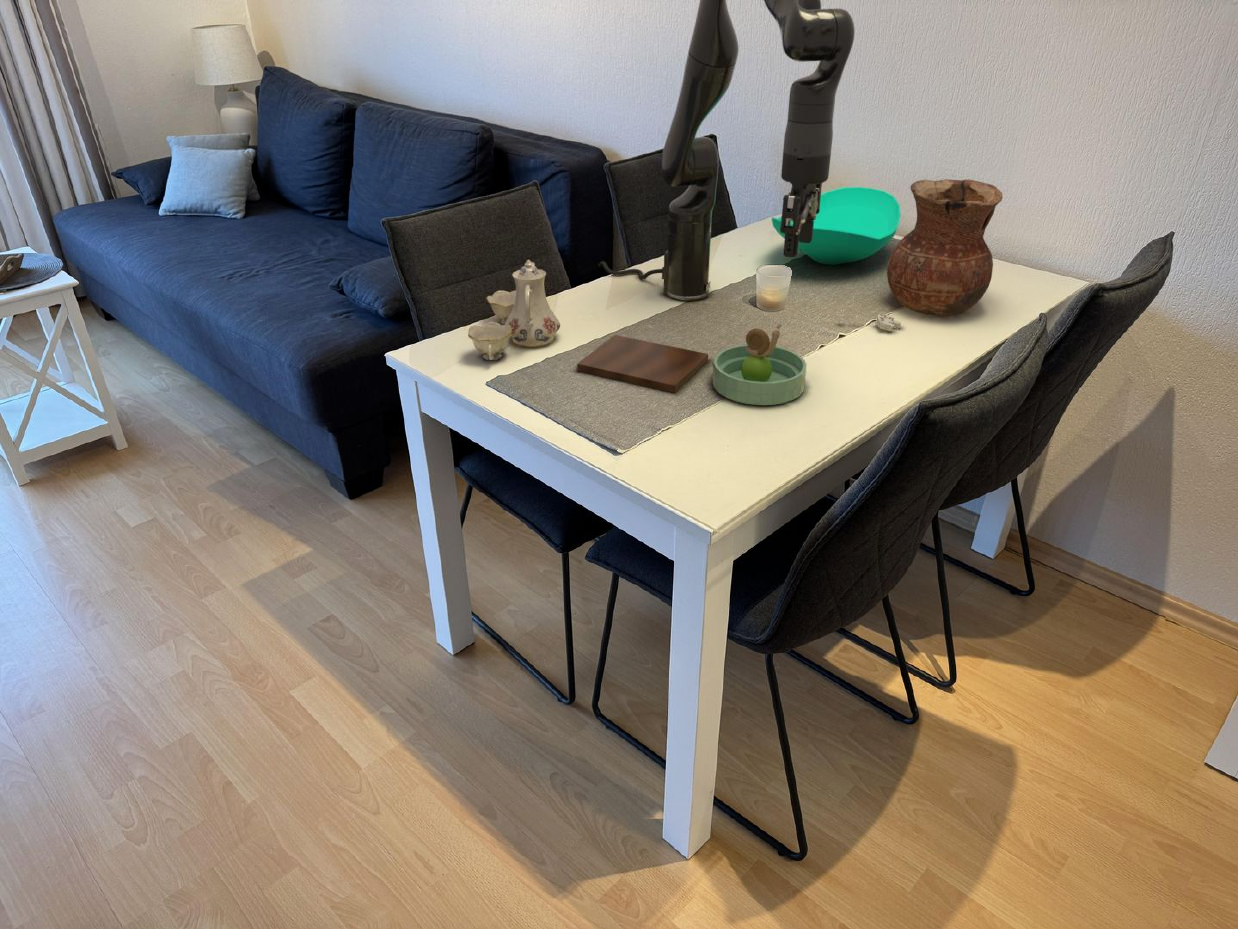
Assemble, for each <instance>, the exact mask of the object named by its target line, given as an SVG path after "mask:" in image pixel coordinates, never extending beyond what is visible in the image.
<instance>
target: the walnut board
mask: <svg viewBox="0 0 1238 929" xmlns="http://www.w3.org/2000/svg"><path fill="white" fill-rule="evenodd" d="M708 362H709V353H706V352H701V351H696V350H691V349H687V348H682V347H677V346H671V345H666V344H662V343H657V342H652V341H648V340H644V339H637V338H632V337H628V336H623V335H618V334H614V335H613V336H611V337H610V338H609V339H607V340H606V341H605V342H604V343H602V344H601V345H600V346H599V347H597V348H595V349H594V350H593V351H592V352H590V353H589V354H588V355H587V356H585V357H584V358H582V359H581V360H580V361H579V362H577V363H576V368H577V369H576V370H577V372H581V373H585V374H590V375H594V376H599V377H602V378H608V379H613V380H617V381H620V382H626V383H630V384H634V385H638V386H642V387H647V388H651V389H656V390H660V391H663V392H669V393H673V394H676V393H677V392H678V391H679V390H680V388H682V387H683V386H684V385H685V384H686V383H687V382H688V381H689V380H690V379H691V378H693V376H694V375H695V374H697V372H699V371H700V370H701V368H703V367H704V365H706V364H707V363H708Z"/></svg>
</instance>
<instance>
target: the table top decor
mask: <svg viewBox="0 0 1238 929" xmlns="http://www.w3.org/2000/svg"><path fill="white" fill-rule="evenodd" d="M901 213H902V212H901V204H900V203H899V202H898V200H897V199H896V197H895V196H894V195H892V194H891V193H889V192H887V191H885V190H883V189H882V190H881V189H877V188H872V187H863V186H850V187H849V186H848V187H847V186H846V187H839V188H836V189H833V190H829V191H825V192H823V193H821V198H820V211H819V213H818V214H816V219H815V221H814V220H813V221H814V226H813V236H812V241H811V242H810V243H802V242H799V244H798V251H801V252H802V253H803V254H805V255H807V256H808V257H810V258H811V259H812V260H813V261H814V262H816V263H819V264H823V265H830V266H833V265H842V264H848V263H854V262H857V261H860V260H861V261H862V260H864V259H866V258H868V257H871V256H873V255H874V254H876V253H877V252H878V251H880V250H881V249H882V248H884V247H885V246H886V245H887V244H888V243H889V242H890V241H891V240H892V239H893V238H894V237H895V235H896V233H897V230H898V228H899V224H900V220H901V217H902V214H901ZM781 219H782V215H781V216H780V217H774V216H772V217H771V223H772V226H773V228H774V229H775V231H776V232H777V234H778V235H779V236H780V237H782V238H783V239H784V240H785V234H784V233H781V232H780V228H781ZM790 226H793V221H792V222H790Z"/></svg>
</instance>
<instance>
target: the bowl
mask: <svg viewBox="0 0 1238 929" xmlns="http://www.w3.org/2000/svg"><path fill="white" fill-rule="evenodd" d="M745 347H748V348H750V347H749V346H748V345H747V343H746V344H737V345H733V346H730V347H727V348H725V349H722V350H720V351H719V352H718V353H717V354H716V355H715V356H714V359H713V363H712V381H711V382H712V386H713V388H714V389H715V391H716V392H717V393H718V394H719V395H721V396H723V397H724V398H726V399H729V400H731V401H734V402H737V403H741V404H747V405H754V406H774V405H781V404H785V403H788V402H791V401H794V400H795V399H797V398H799V397H800V396H801V395H802V394H803V392H804V391H805V383H806V374H807V365H808V364H807V362H806V360H805V359H804V357H802V356H801V355H800V354H799V353H797V352H794V351H793V350H791V349H788V348H784V347H782V346H777V345H776V347H775V349H774V351H773V352H772V354H771V355H769V356H767V357H766V358H768V360H769V361H770V362H771V365H772V374H771V376H770V378H769V379H768V380H767V381H766V382H758V381H749V380H745V379H744V378H743V376H742V372H741V367H742V364H743V362H744V360H745V359H746V358H747V357H749V356H751V355H750V354H749V353H748V352H747V351H746V349H745Z"/></svg>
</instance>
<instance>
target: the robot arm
mask: <svg viewBox="0 0 1238 929" xmlns="http://www.w3.org/2000/svg"><path fill="white" fill-rule="evenodd" d="M763 2H764V6H765V7H766V9H767V11H768V12H769V14H770V15H771V17H773V19H774V20H775V22H776V23H777V25H778V29H779V33H780V37H781V38H780V39H781V46H782V48H783V52H784V54H785V56H787V57H788V58H789V59H791V60H793V61H795V62H799V63H800V62H801V63H802V62H803V63H805V62H806V63H807V62H818V64H817V67H816V69H815V70H814V71H813V73H811V74H809V75H807V76H803V77H801V78H797V79H796V80H794V81H793V82H792V84H791V85H790V88H789V96H788V97H789V98H788V108H787V109H788V110H787V120H786V127H785V130H784V138H783V150H782V160H781V161H782V162H781V175H780V177H781V180H783V181H784V182H786V183H790V184H791V189H790V192H788V194H784V196H783V197H782V200H783V202H782V210H781V216H782V219H781V228H780V232H781V233H784V234H785V239H784V241H783V242H784V243H783V253H782V254H783V256H784V257H786V258H793V259H794V258H796V257H797V256H798V254H799V249H798V244H799V242H802V243H810V242H811V241H812V236H813V226H814V221H815V219H816V214H818V213H819V211H820V198H821V194H822V188H823V186H822V185H823V183H826V182H827V181H828V179H829V175H830V166H831V156H832V149H833V140H834V139H833V138H834V137H833V136H834V115H835V104H836V95H837V92H838V88H839V86H840V82H841V80H842V76H843V73H844V71H845V68H846V65H847V62H848V59H849V56H850V55H851V52H852V48H853V45H854V41H855V35H856V34H855V33H856V32H855V31H856V30H855V29H856V28H855V23H854V20H853V17H852V15H851V14H850V12H849V11H847V9H844V8H838V7H837V8H835V7H834V8H822V1H821V0H763ZM689 43H690V44H689V47H688V51H687V56H686V60H685V65H684V71H683V75H682V81H681V87H680V90H679V93H678V94H679V95H678V98H677V103H676V107H675V110H674V114H673V117H672V120H671V124H670V126H669V130H668V133H667V136H666V138H665V142H664V146H663V148H662V149H663V150H662V154H661V161H660V162H661V163H660V168H661V170H660V171H661V176H662V178H663V181H664V182H665V184H666V185H667V186H669V187H674V188H683V187H688V188H687V189H686V190H685V191H684V192H683V193H682V194H681V195H680V196H678V197H677V198H675V199H673V200H672V201H671V202H670V203H669V206H668V222H667V223H668V227H667V228H668V229H667V230H668V232H667V234H668V235H667V250H666V251H665V252H664V253H663V267H661V268H656V269H651V270H648V271H646V272H645V273H643V270H641V269H638V268H629V269H624V270H612V269H611V268H610V267H609V266H608V264H607V263H606V261H600V262H599V263H598V264H597V267H598V268H602V267H603V269H604V271H605V272H606V273H607V274H608V275H612V276H624V275H627V274H638V277H639V279H641V280H645V279H647V278H648V277H650V276H651V275H657V274H661V279H662V280H663V287H662V289H663V291H662V292H663V293H662V294H663V295H665V296H668V297H669V298H671V299H675V300H678V301H687V302H688V301H689V302H690V301H698V300H703V299H705V298H706V297H708V296H709V292H710V291H709V289H710V288H711V283H712V282H711V280H709V279H710V264H711V263H710V262H711V241H712V217H713V210H714V207H715V204H716V198H717V197H716V196H717V188H718V187H717V185H718V175H719V161H720V160H719V153H718V148H717V145H716V144H715V142H714V141H713V139H711V138H710V137H708V136H698V137H696V135H697V133H698V131H699V129H700V127H701V125H702V124H703V122H704V121H705V120H706V118H707V117H708V116H709V114H710V113H711V112H712V111H713V110H714V108H716V106H717V105H718V104H719V103H720V101H721V100H722V99H723V97H724V95H725V94H726V93H727V91H728V90H729V89H730V88H729V87H730V86H731V83H732V79H733V76H734V72H735V68H736V64H737V61H738V57H739V52H740V51H739V42H738V36H737V33H736V30H735V27H734V24H733V21H732V18H731V16H730V13H729V8H728V4H727V0H699V2H698V8H697V13H696V17H695V22H694V27H693V31H692V35H691V39H690V42H689ZM813 220H814V221H813ZM792 221H793V226H790V222H792Z"/></svg>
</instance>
